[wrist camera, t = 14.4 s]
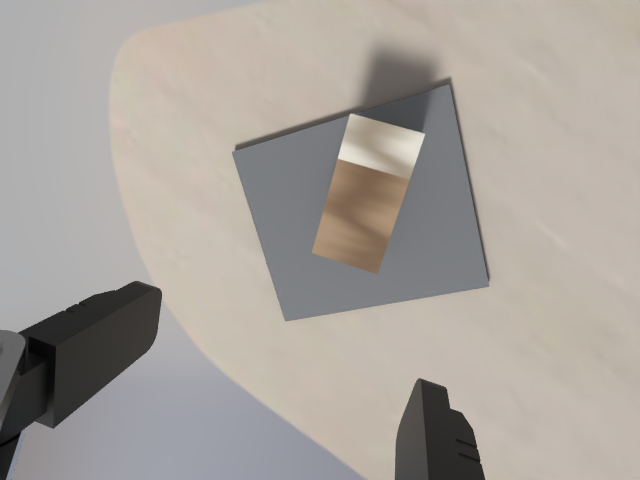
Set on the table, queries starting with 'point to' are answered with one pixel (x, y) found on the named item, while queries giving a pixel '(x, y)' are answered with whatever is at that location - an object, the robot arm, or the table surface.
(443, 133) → the charcoal mat
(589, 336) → the table surface
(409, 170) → the cream and brown block
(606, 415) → the table surface
